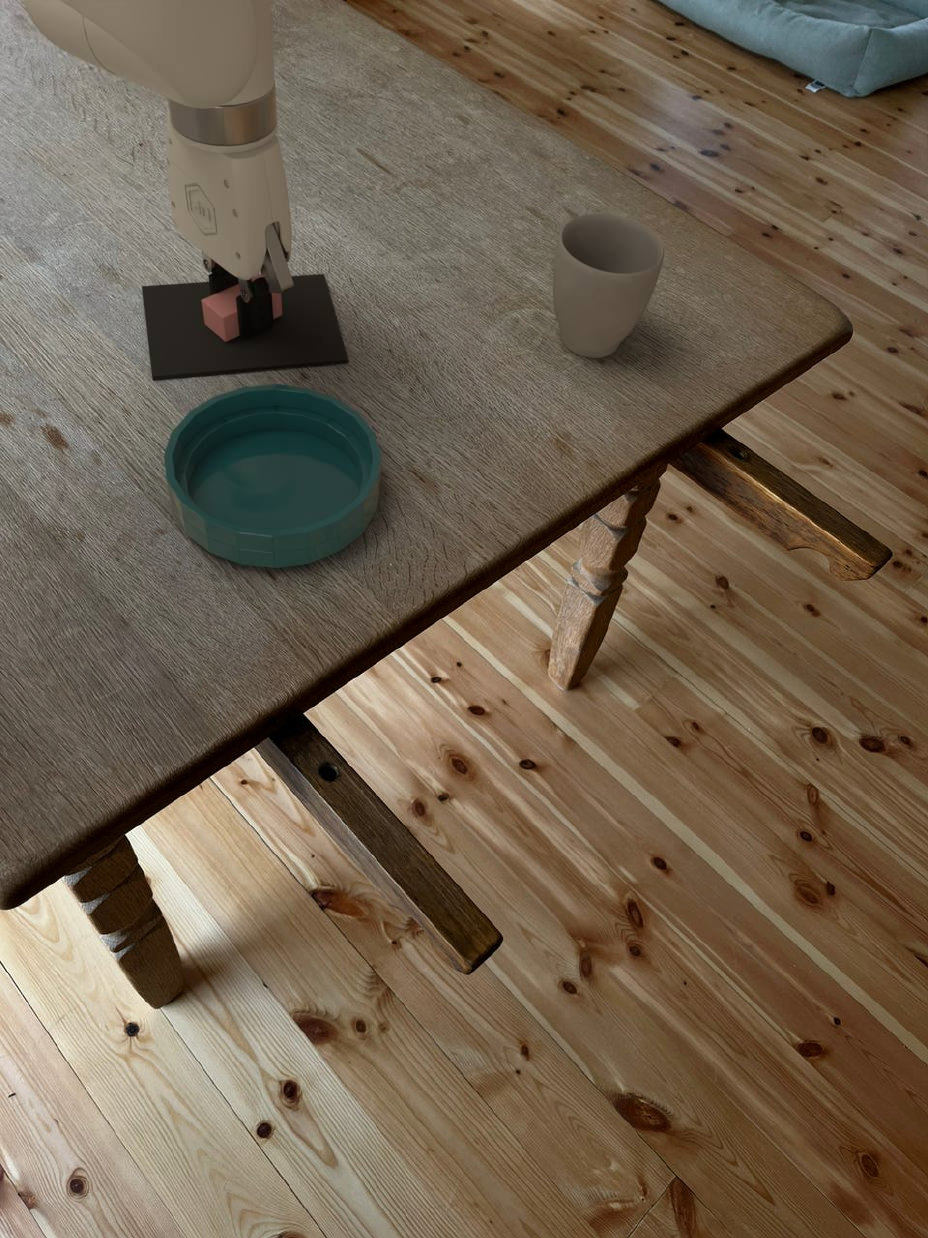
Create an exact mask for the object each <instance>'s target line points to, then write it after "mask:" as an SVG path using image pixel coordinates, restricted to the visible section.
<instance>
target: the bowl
mask: <svg viewBox="0 0 928 1238" xmlns="http://www.w3.org/2000/svg"><path fill="white" fill-rule="evenodd" d="M377 439H378V438H377V435H376V434H375V431H373V429H372V428H371V426H370V425H369V424H368V423H367V421H366V420H365V419H364V417H363V416H362V415H361V414H360V413H359V412H358V411H357V410H354V409H353V408H352V407H350V406H349V405H347V404H346V403H345V402H343V401H342V400H341V399H338V398H337V397H335V396H332V395H329V394H326V393H323V392H321V391H318V390H315V389H312V388H308V387H303V386H295V385H287V384H278V383H277V384H275V383H274V384H262V385H251V386H244V387H243V386H242V387H239V388H236V389H234V390H230V391H227V392H224V393H221V394H217V395H215V396H212V397H211V398H209V399H208V400H206V401H204V402H203V403H201V404H199V405H198V406H196V407H195V408H193V409H192V410H190V411H189V412H188V413H187V414H185V416H184V417H183V419H182V420H181V421H180V422H179V423H178V425H176V427H175V428H174V429H173V430H172V431H171V433H170V436H169V439H168V441H167V445H166V448H165V451H164V454H163V461H164V469H165V471H164V472H165V479H166V483H167V488H168V494H169V498H170V505H171V509H172V513H173V515H174V517H175V518H176V519H177V521H178V523H179V524H180V526H181V528H182V529H183V531H184V533H185V534H186V535H187V537H189V538H191V539H192V540H193V541H194V542H196V543H197V544H198V545H199V546H201V547H202V548H203V549H204V550H206V551H207V552H208V553H210V554H212V555H215V556H217V557H220V558H222V559H226V560H228V561H231V562H233V563H236V564H238V565H243V566H253V567H261V568H272V569H273V568H274V569H279V568H286V567H287V568H288V567H295V566H301V565H309V564H312V563H314V562H317V561H319V560H321V559H324V558H326V557H329V556H332V555H335V554H337V553H339V552H341V551H342V550H344V549H345V548H346V547H347V546H348V545H350V544H351V543H352V542H354V541H355V540H356V539H358V538H359V537H360V536H361V535H362V534H363V533H364V532H365V531H366V529H367V527H368V525H370V523H371V521H372V519H373V518H374V516H375V514H376V513H377V511H378V504H379V498H380V491H381V476H382V474H381V473H382V453H381V449H380V446H379V443H378V440H377Z"/></svg>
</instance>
